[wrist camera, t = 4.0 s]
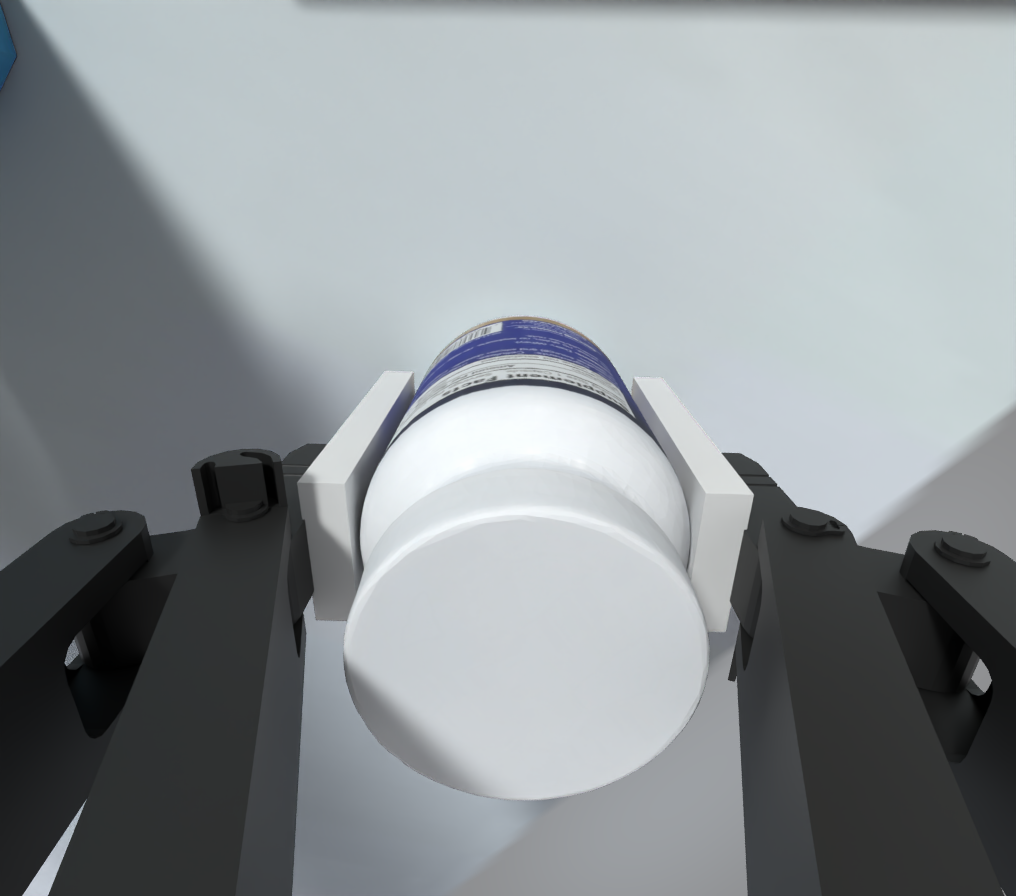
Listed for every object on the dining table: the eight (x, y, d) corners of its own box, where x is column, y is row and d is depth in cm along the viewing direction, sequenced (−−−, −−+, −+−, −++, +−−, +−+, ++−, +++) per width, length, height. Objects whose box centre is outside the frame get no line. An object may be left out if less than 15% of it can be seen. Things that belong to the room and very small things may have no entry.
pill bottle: (600, 515, 18) (683, 854, 9) (412, 487, 18) (292, 805, 8) (646, 327, 16) (826, 514, 6) (431, 293, 15) (296, 435, 6)
